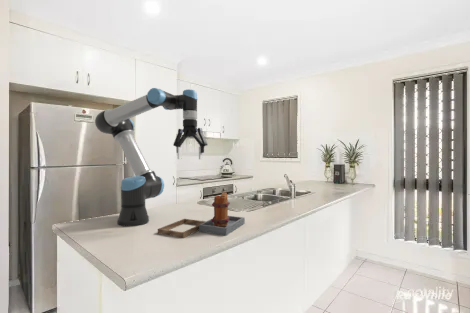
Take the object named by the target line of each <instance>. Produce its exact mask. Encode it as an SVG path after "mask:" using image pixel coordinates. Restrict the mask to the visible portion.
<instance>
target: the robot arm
mask: <svg viewBox="0 0 470 313" xmlns="http://www.w3.org/2000/svg"><path fill="white" fill-rule="evenodd" d="M159 107H162V108H163V109H164V110H167V111H173V110H182V128H183V129H182V128H178V129H177V133H176V136H175V140H174V142H173V143H172V145H173V146H174V147H175V148H176V153H177V160H182V156H183V155H182V153H183V147H182V145H183V144H184V142H185V141H186V139H187V138H194V139H195V141H196V142H197V144H198V145H199V146H198V160H204V153H205V147H207V146H208V142H207V140H206V137H205V135H204V133H203V128H202V127H198V93H197V91H196V90H194V89H184V90H182V94H177V95H176V94H175V95H174V94H172V93H169V92H167V91H164V90H163V89H161V88H157V87H152V88H150V89H149V90H148V92H147V93H146V94H145V95H142V96H140V97H138V98H136V99H133V100H131V101H128V102H126V103H124V104H122V105H120V106H117V107H115V108H112V109H111V108H107V109H105V110H102V111H101V112H100V113H98V114H97V115H96V117H95V119H94V125H95V127H96V129H97V130H98V131H100V132H101V133H103V134H109V135H112V137H113V139H114V141H116V142H118V143H119V145H120V147H121V149H122V152H123V154H124V155H125V157H126V159H127V161H128V164H129V165H130V167H131V169H132V172H133V173H134V174H133V175H134V176H128V177H125V178H123V179H122V180H121V181H120V182H121V184H120V203H121V204H120V212H119V215H118V218H117V225H118V226H120V227H136V226H142V225H145V224H147V223H149V222H150V216H149V215H148V211H147V207H146V200H148V199H152V198H156V197H158V196H160V195H162V193H163V192H164V189H165V182H164V180H163V178H162V177H161V176H158V175H157V174H156V172H155V171H154V170H153V169H150V167H149V165H148V162H147V161H146V159H145V156H144V155H143V153H142V150H141V148H140V147H139V145H138V143H137V142H136V139H135V137H134V136H135V135H134V134H135V122H134V121H133V119H131V118H133V117H136V116H139V115H141V114H143V113H146V112H148V111H151V110H154V109H156V108H159Z"/></svg>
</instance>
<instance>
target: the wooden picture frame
mask: <svg viewBox="0 0 470 313" xmlns="http://www.w3.org/2000/svg"><path fill="white" fill-rule="evenodd" d="M206 221H207V220H199V219H198V220H197V219H192V218H191V219H189V218H182V219H180V220H177V221H175V222H172V223H169V224H167V225H165V226H162V227H160V228H157V234H158V235H164V236H170V237H175V238H183V239H184V238H186V237H189V236H191V235H193V234H195V233H196V232H199V225H200V224H202V223H204V222H206ZM185 224H189V225H196V226H193V227H191V228H189V229H187V230H184V231H177V230H172V229H174V228H177V227H179V226H181V225H185Z"/></svg>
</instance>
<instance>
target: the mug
mask: <svg viewBox="0 0 470 313" xmlns="http://www.w3.org/2000/svg"><path fill="white" fill-rule="evenodd" d="M228 197H229V196H228V192H222V193H221V195H214V198H213V202H212V203H211V206H213V217H212V218H211V221H212V222H214V226H217V227H225V226H227V225H228V222H229V219H230V217H229V216H230V215H228V213H229V212H228V210H229V206H230V202H229V201H228V200H229V199H228Z"/></svg>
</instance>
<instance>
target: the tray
mask: <svg viewBox="0 0 470 313" xmlns="http://www.w3.org/2000/svg"><path fill="white" fill-rule="evenodd" d="M228 216H229V217H230V219H229V222H228V225H227V226H225V227H217V226H214V222H212V221H211V219H212V218H211V219H208V220H205V221H206V222H204V223H202V224H200V225H199V230H198V232H199V233H200V232H201V233H202V232H203V233H208V234H213V235H214V234H215V235H221V236H228V235H229V234H231V233H233V232H234V231H236V230H237V229H238V228H240V227H242V226H243V225H245V222H246V221H245V217H243V216H234V215H228Z"/></svg>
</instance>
